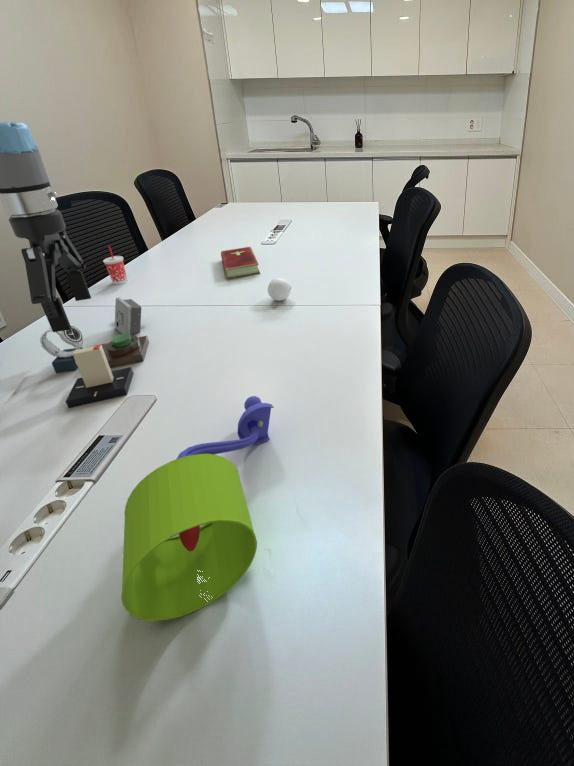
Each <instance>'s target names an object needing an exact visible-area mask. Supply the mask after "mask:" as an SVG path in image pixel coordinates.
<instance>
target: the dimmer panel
mask: <svg viewBox="0 0 574 766" xmlns="http://www.w3.org/2000/svg"><path fill="white" fill-rule="evenodd" d="M111 372H112V375H113V377H114V379H113V381H112V382H111V383H106V384H102V385H97V386H93V387H88V388H86V386H85V383H84V381H83V378H82V376H81V377H78V378H76V380H75V382H74V384H73V386H72V388H71V390H70V392H69V394H68V396H67V397H66V400H65V403H66V406H67V408H68V409H73V408H76V407H81V406H85V405H90V404H94V403H98V402H103V401H107V400H112V399H115V398H120V397H124V396H128V393H129V390H130V386H131V383H132V380H133V377H134V371H133V368H132V366H130V367H125V368H120V369H116V370H111Z"/></svg>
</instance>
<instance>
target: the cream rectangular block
mask: <svg viewBox="0 0 574 766" xmlns="http://www.w3.org/2000/svg"><path fill="white" fill-rule="evenodd" d="M73 356H74V359H75V361H76V364H77V366H78V369H77V370H78V371H79V373H80V376H81V377H82V378H83V381H84V383H85V386H86V388H88V387H93V386H97V385H102V384H106V383H111V382H112V381H113V379H114V377H113V375H112V372H111V371H112V370H111V369H112V368H110V367H109V364H108V361H107V358H106V356H105V353H104V350H103V348H102V345H100V344H96V346H95V345H94V346H90V347H83V349H78V350H75V351H74V353H73Z"/></svg>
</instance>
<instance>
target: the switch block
mask: <svg viewBox="0 0 574 766" xmlns="http://www.w3.org/2000/svg"><path fill="white" fill-rule="evenodd" d="M130 336H131V339H132V342H131V343H130V344H129V345H127V346H124V347H120V348H115V347H114V346H113V343H112V340H111V341H110V342H107V343H101V344H99V345H102V348H103V350H104V353H105V356H106V358H107V361H108V364H109V367H110V369H113V368H118V367H122V366H127V365H132V364H133V365H134V364H136V363H141V362H144V361H145V359H146V355H147V351H148V347H149V344H150V340H149V338H148V335H143V336H137V335H136V334H131V335H130ZM96 345H97V344H96ZM96 345H94V346H96Z"/></svg>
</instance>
